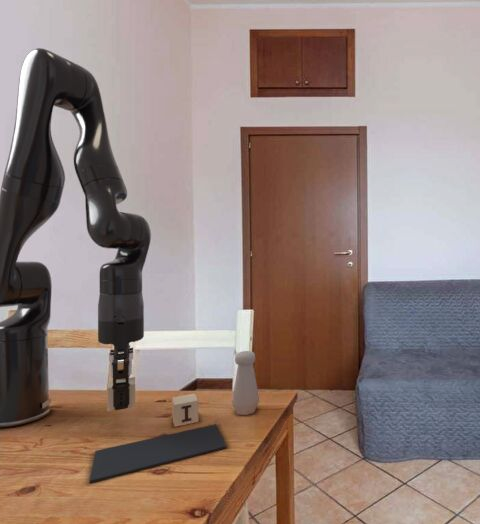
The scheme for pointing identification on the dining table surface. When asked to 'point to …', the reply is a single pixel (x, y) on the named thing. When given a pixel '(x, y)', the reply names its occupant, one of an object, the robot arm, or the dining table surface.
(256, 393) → the salt shaker
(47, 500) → the dining table surface
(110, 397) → the beige rounded cube
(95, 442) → the dining table surface
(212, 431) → the word mat
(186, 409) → the beige cube block
